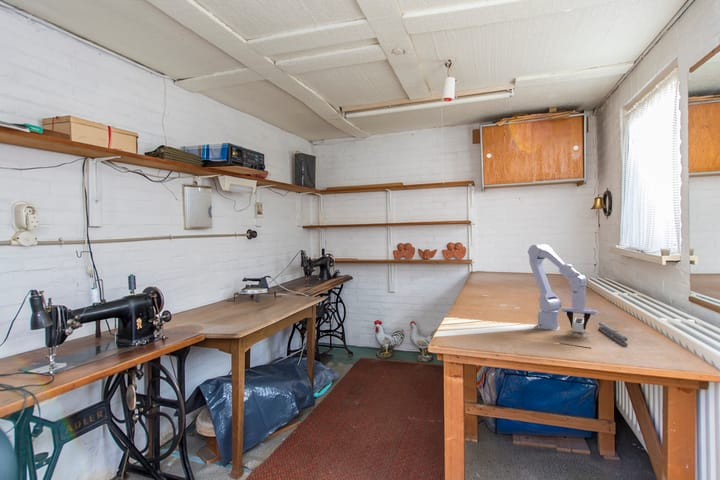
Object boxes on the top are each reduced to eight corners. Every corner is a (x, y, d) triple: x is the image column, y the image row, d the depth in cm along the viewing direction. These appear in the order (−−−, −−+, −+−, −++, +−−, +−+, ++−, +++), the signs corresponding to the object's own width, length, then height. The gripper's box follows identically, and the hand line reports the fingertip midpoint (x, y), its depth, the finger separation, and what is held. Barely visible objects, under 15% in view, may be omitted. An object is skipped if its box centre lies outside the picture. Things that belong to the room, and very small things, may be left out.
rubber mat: (559, 344, 163) (559, 343, 163) (562, 337, 173) (562, 336, 173) (590, 348, 156) (590, 347, 156) (592, 341, 166) (592, 340, 166)
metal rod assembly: (597, 331, 182) (597, 321, 182) (603, 331, 182) (603, 321, 182) (621, 347, 157) (621, 336, 157) (629, 348, 157) (629, 336, 157)
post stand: (567, 337, 172) (567, 325, 172) (571, 329, 185) (571, 318, 185) (587, 340, 168) (587, 328, 168) (589, 331, 181) (589, 320, 181)
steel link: (572, 331, 173) (572, 322, 173) (574, 325, 183) (574, 317, 183) (583, 332, 170) (583, 324, 170) (585, 326, 180) (585, 318, 180)
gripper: (560, 300, 174) (560, 327, 175) (596, 303, 166) (595, 332, 167) (562, 297, 180) (562, 324, 181) (596, 300, 172) (596, 328, 172)
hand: (578, 328), depth 174 cm, fingers closed on steel link, 4 cm apart
